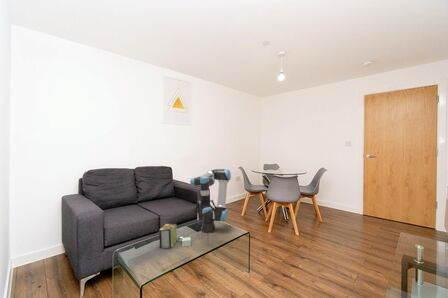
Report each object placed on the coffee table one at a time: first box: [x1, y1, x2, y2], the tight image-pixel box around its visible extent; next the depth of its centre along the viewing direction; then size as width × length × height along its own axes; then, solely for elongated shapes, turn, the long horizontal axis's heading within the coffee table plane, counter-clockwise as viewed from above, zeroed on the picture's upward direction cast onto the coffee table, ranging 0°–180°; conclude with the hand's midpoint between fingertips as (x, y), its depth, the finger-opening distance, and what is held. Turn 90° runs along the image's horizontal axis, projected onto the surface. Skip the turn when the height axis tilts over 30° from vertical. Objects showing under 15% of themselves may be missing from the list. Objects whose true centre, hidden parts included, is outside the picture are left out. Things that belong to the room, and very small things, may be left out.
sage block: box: [181, 236, 192, 248], centre depth 181 cm, size 7×7×5 cm
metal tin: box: [177, 234, 186, 243], centre depth 189 cm, size 6×6×4 cm
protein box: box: [158, 223, 178, 249], centre depth 183 cm, size 10×15×16 cm
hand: (206, 219), depth 178 cm, fingers open, 13 cm apart
